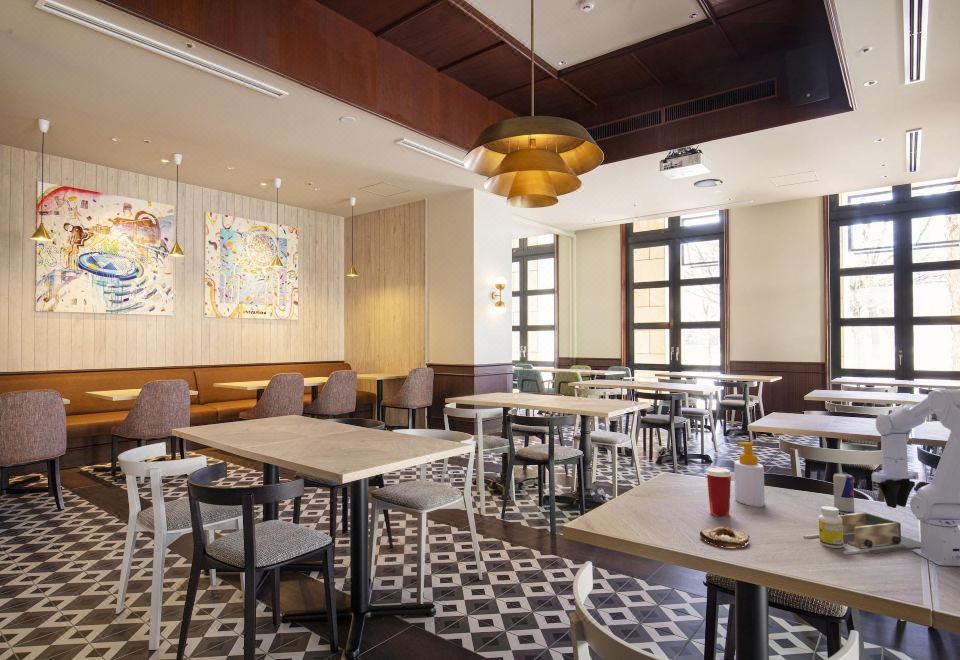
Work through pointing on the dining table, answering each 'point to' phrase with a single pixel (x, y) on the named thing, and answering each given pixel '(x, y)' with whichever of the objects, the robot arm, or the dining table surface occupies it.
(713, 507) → the paper cup
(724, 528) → the ring pastry
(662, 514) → the dining table surface
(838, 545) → the supplement bottle
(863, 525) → the cart
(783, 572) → the dining table surface
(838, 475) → the energy drink
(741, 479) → the soap bottle
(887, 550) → the track
